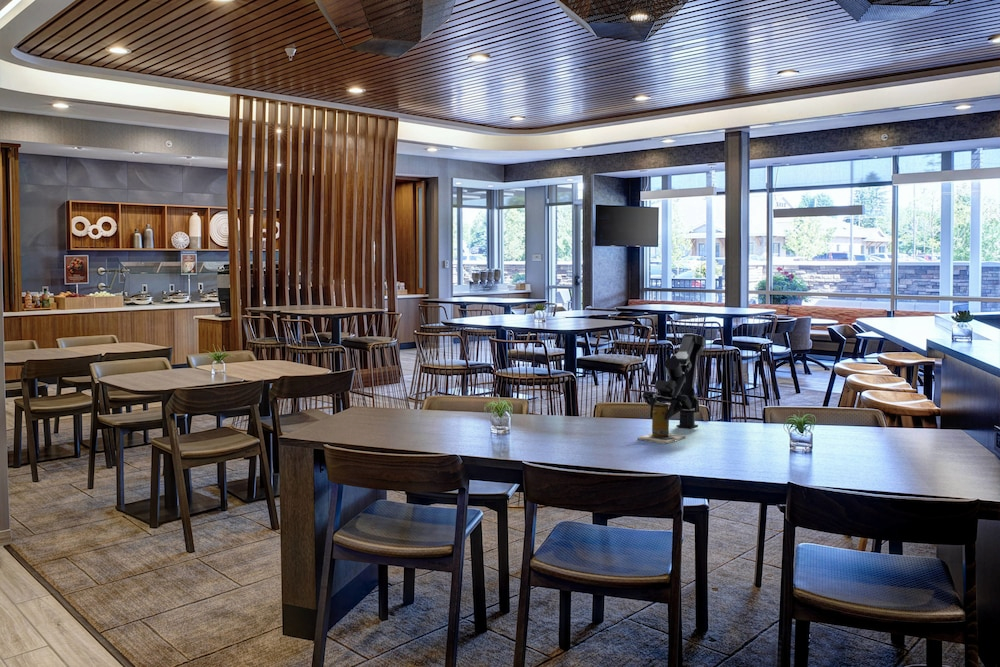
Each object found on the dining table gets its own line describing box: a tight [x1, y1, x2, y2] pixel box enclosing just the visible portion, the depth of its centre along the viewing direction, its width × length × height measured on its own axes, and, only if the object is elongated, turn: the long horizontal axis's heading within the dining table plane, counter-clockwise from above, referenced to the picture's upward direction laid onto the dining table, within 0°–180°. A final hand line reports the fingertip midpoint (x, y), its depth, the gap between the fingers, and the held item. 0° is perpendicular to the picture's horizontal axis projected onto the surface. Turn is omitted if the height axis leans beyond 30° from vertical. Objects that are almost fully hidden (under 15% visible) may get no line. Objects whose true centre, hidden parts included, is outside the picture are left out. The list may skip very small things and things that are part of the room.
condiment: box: [647, 402, 676, 439], centre depth 295 cm, size 7×8×12 cm
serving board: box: [636, 433, 686, 445], centre depth 297 cm, size 14×12×1 cm
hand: (658, 418), depth 295 cm, fingers closed on condiment, 6 cm apart
